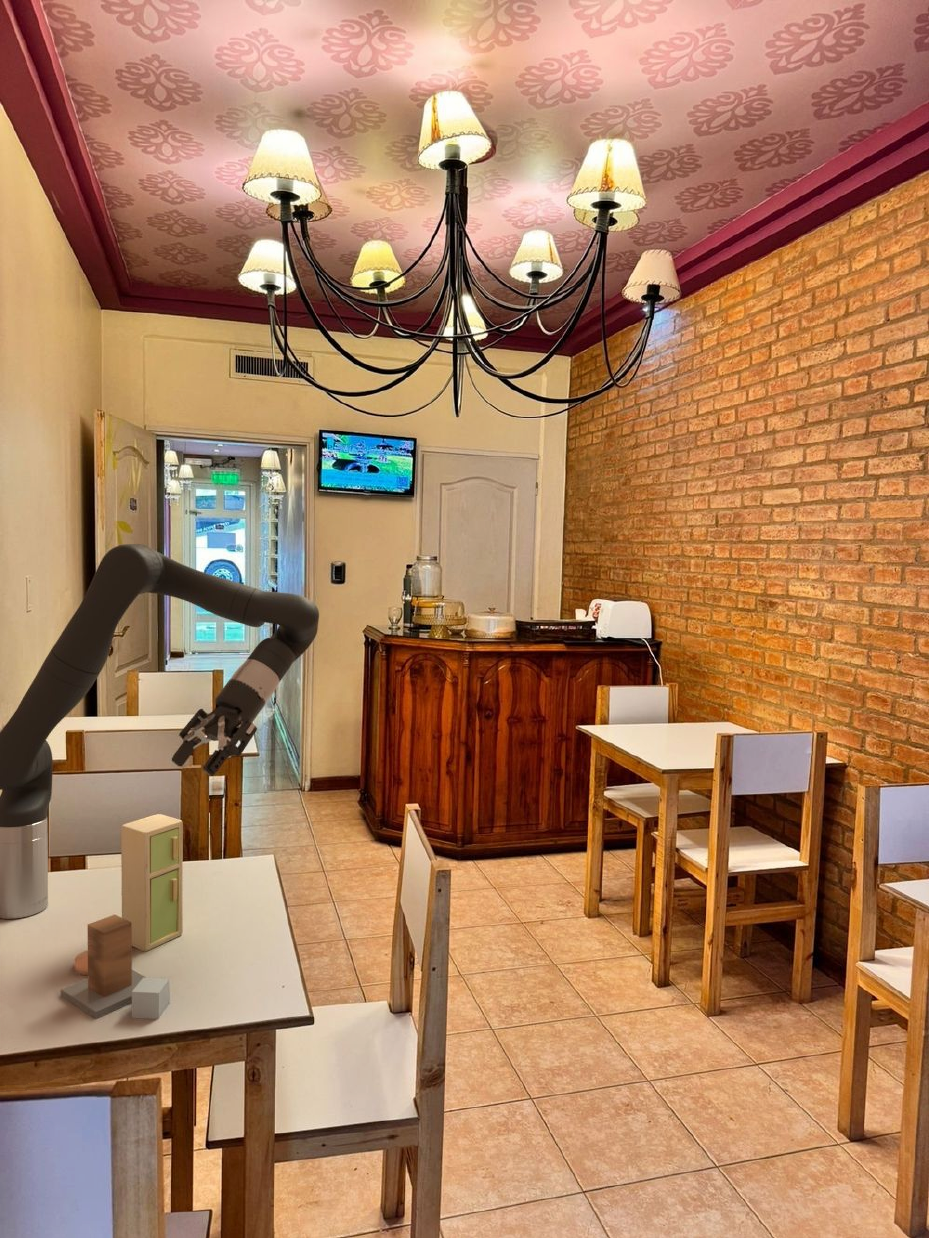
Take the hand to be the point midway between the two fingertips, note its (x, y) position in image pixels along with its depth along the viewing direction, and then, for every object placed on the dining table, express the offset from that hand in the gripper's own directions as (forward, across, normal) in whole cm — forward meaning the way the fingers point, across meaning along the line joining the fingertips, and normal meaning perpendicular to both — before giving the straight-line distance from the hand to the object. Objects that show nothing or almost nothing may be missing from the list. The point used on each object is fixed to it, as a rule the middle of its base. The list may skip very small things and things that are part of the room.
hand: (191, 768), depth 133 cm
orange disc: (+31, -10, +15) cm, 36 cm away
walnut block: (+32, -1, +13) cm, 35 cm away
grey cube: (+32, +8, +14) cm, 36 cm away
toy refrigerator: (+23, -11, +24) cm, 35 cm away
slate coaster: (+33, -1, +13) cm, 35 cm away
